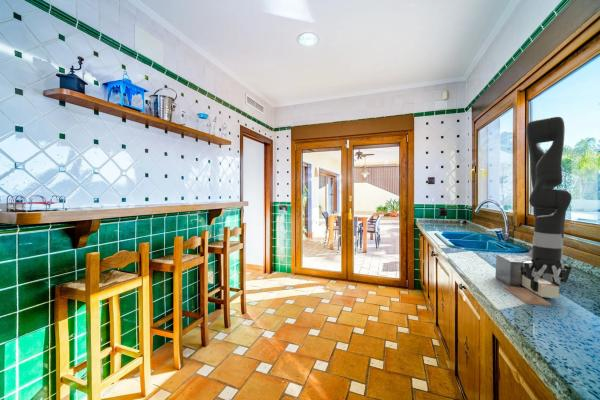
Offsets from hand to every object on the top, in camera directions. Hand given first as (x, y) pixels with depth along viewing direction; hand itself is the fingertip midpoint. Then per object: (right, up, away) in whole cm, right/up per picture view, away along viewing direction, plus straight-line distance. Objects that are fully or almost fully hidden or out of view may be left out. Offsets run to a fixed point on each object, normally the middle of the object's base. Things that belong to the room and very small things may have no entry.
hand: (544, 291), depth 93 cm
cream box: (+1, -1, +3) cm, 3 cm away
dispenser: (+4, -1, +14) cm, 14 cm away
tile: (-6, -2, +1) cm, 6 cm away
